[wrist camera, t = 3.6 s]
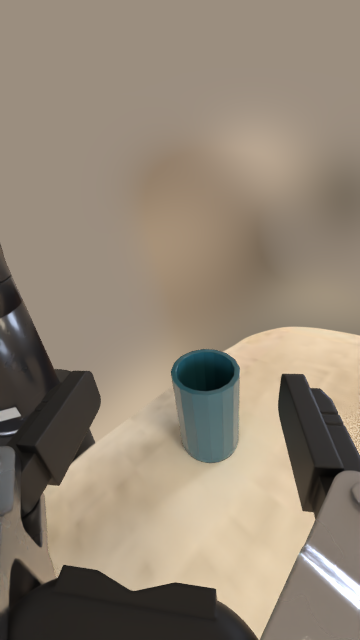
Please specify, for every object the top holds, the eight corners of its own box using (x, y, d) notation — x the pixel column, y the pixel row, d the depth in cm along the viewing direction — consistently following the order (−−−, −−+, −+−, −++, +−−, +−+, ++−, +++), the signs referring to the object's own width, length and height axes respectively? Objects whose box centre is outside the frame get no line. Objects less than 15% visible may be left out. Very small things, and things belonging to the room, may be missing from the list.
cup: (170, 443, 29) (157, 378, 24) (200, 404, 33) (194, 343, 28) (221, 475, 25) (219, 406, 20) (247, 426, 30) (250, 360, 25)
